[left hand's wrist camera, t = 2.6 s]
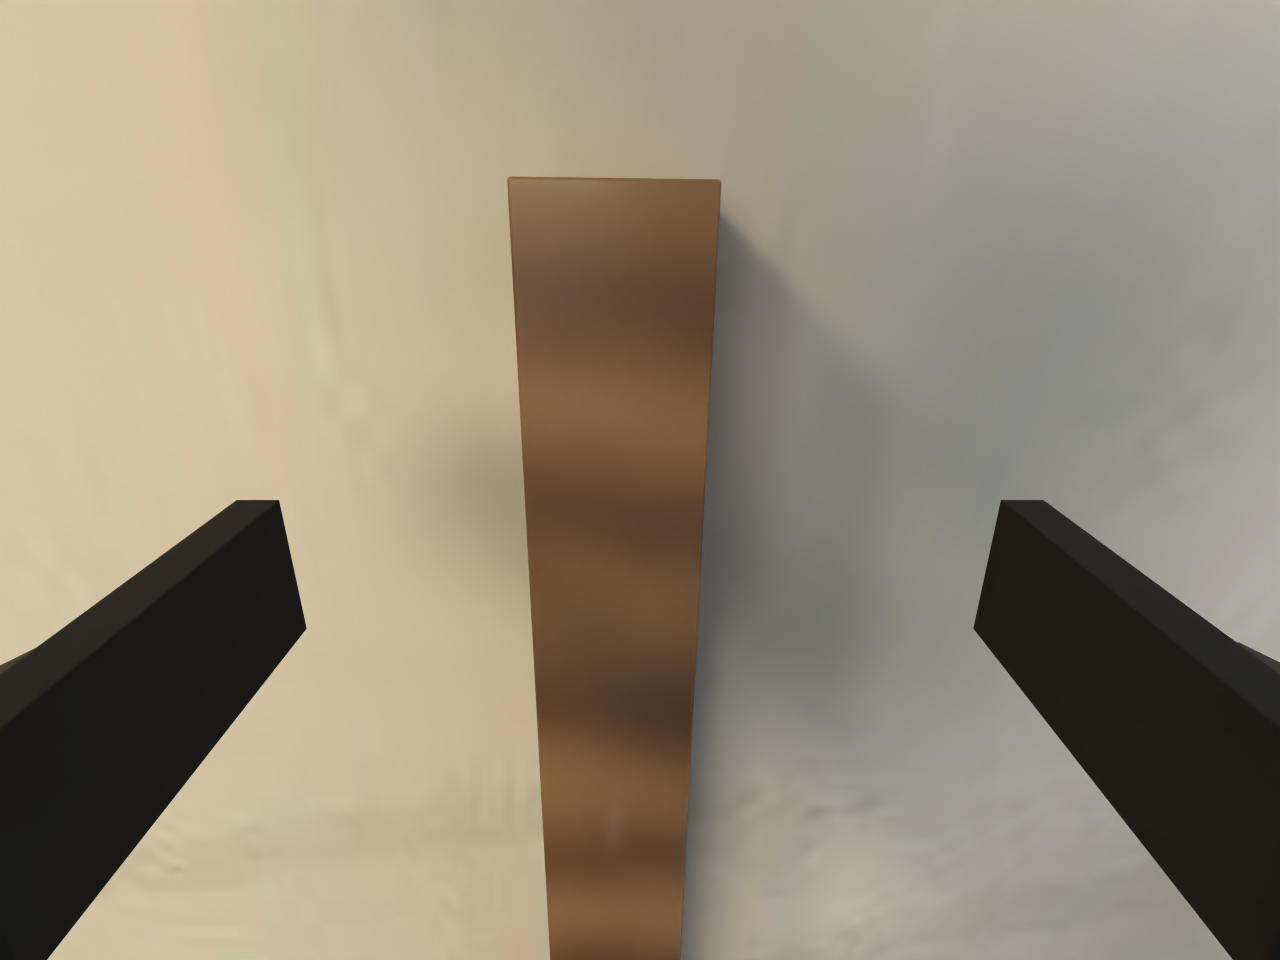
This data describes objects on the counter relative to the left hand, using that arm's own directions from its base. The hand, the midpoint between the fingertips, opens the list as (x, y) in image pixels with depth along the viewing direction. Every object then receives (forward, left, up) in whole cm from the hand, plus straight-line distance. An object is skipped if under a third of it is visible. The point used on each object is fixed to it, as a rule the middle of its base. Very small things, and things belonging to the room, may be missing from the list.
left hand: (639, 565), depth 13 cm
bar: (+15, -12, -13) cm, 23 cm away
